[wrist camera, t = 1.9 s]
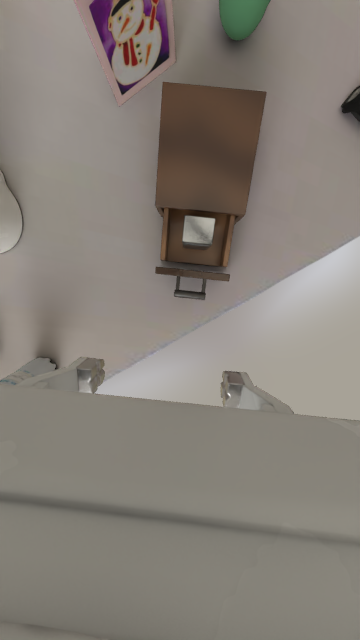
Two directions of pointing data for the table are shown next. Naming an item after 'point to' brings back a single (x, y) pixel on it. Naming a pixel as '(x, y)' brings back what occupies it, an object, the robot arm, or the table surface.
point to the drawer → (211, 256)
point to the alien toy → (241, 16)
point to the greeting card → (130, 40)
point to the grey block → (198, 232)
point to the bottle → (29, 371)
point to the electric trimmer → (353, 104)
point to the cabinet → (207, 148)
